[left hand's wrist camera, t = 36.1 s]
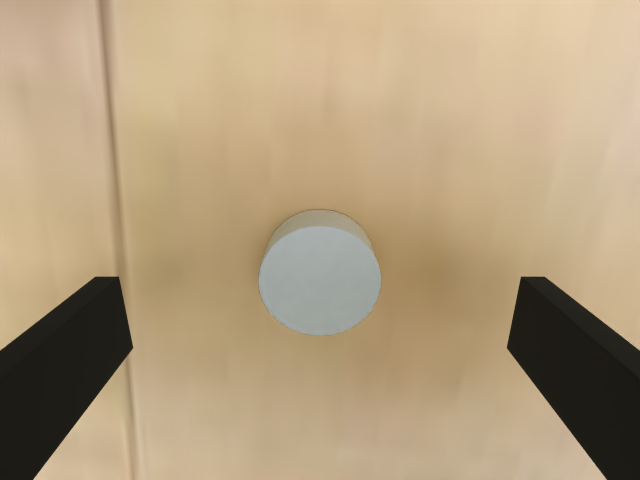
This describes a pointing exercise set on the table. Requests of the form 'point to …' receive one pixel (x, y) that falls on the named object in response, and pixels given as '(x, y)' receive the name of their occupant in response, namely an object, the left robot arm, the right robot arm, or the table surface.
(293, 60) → the table surface
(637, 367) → the left robot arm
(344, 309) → the cap
